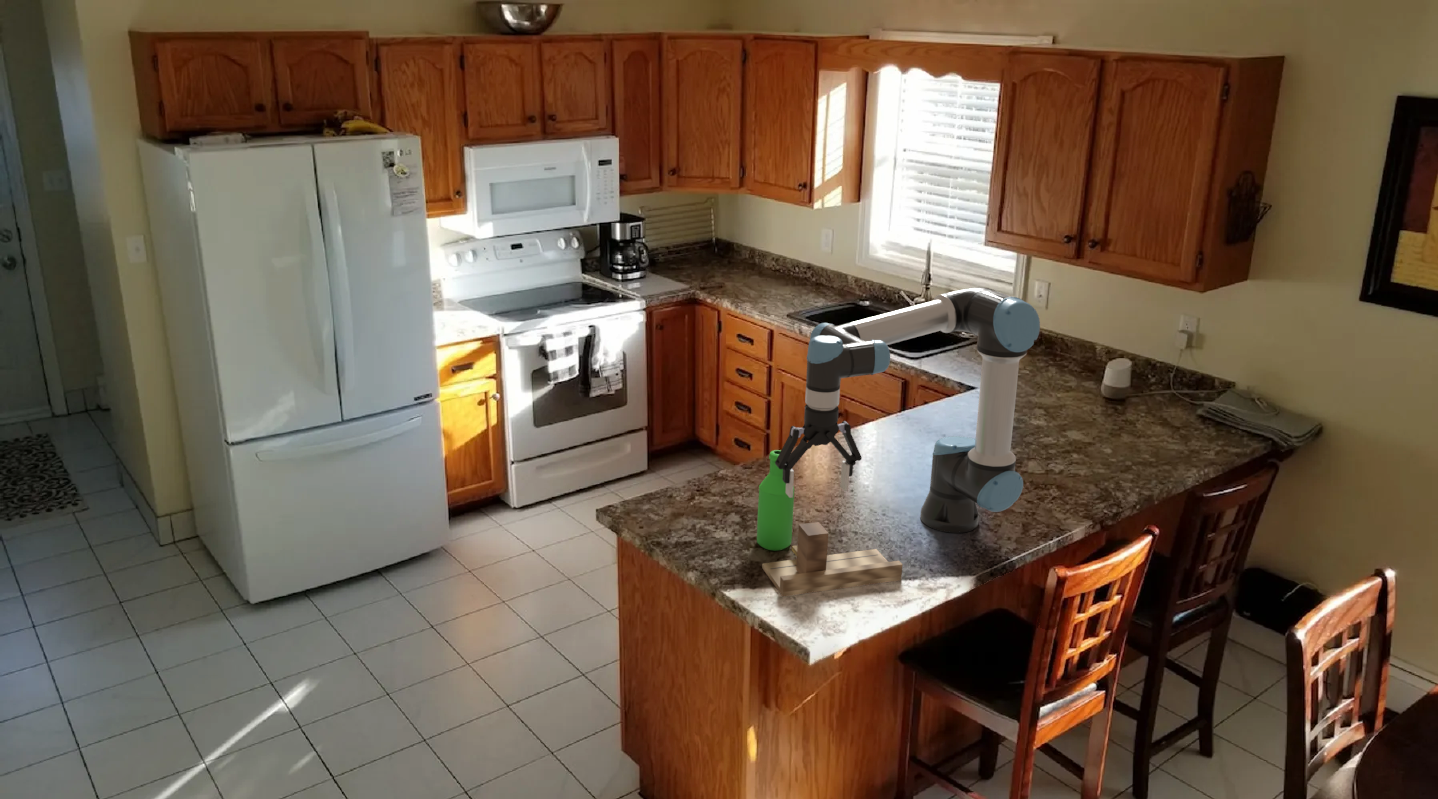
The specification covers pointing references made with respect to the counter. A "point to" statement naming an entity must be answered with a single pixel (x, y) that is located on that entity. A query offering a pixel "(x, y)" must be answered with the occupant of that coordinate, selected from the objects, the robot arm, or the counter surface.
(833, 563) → the board
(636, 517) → the counter surface
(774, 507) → the bottle
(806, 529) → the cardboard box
